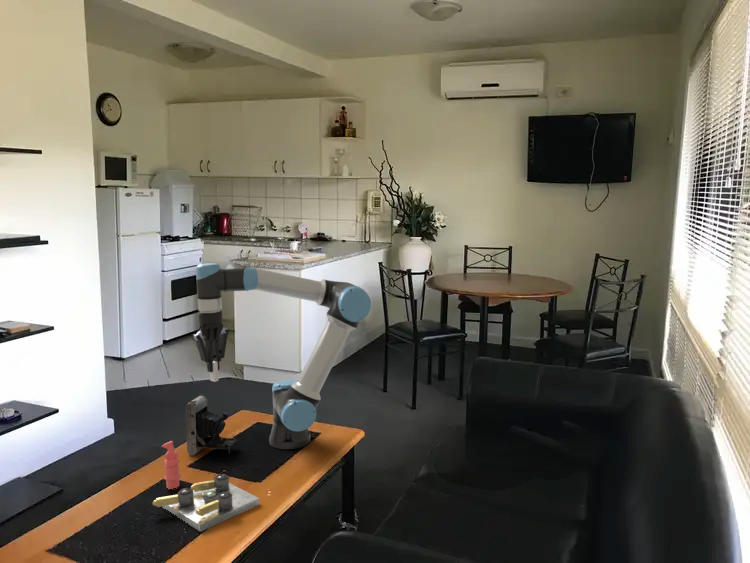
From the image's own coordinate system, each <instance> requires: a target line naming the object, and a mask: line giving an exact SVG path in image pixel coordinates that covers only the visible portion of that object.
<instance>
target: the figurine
mask: <svg viewBox="0 0 750 563" xmlns="http://www.w3.org/2000/svg"><path fill="white" fill-rule="evenodd" d="M161 448H165V449H166V450H167V452H166V453H165V454H164V468H165V473H164V474H165V476H164V478H163V479H164V480H165V483H166V485H165V486H166V489H167V488H168V489H167V490H170V489H172V490H174V489H173V488H176V489H178V488H179V487H180V478H181V477H182V476H181V473H180V468H179V463H180V458H179V452H178V451H176V450H175V447H174V441H173V440H170V441H169V442H166V443H164V444H162V445H161ZM178 486H179V487H178ZM177 487H178V488H177Z"/></svg>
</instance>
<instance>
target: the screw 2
mask: <svg viewBox="0 0 750 563" xmlns="http://www.w3.org/2000/svg"><path fill="white" fill-rule="evenodd" d="M229 483H230V478H229V476H228V474H225V473H219V474H217V475H216V476H215V477H213V479H212V480H206V481H200V482H194V483H193V484H192V485H191V486H190V489H192V490H193V491H195V492H197V491H203V490H209V489H214V490H215V491H225V490H227V489H228V488H229Z"/></svg>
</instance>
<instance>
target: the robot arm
mask: <svg viewBox="0 0 750 563" xmlns="http://www.w3.org/2000/svg"><path fill="white" fill-rule="evenodd" d="M195 273H196V274H195V275H196V277H195V278H196V293H197V294H196V295H197V307H198V308H197V309H198V311H199V312H198V323H199V327H198V331H197V332H196V334H195V333H193V334H192V338H193V340H194V341H195V343H196V347H197V351H198V353H199V357H200V360H201V361H202V362H205V363H206V368H207V372H208V374H209V381H211V382H214V383H217V382H219V370H220V367H221V366H220V362H221V361H222V359H224V358H225V354H226V349H227V342H228V341H227V340H228V335H229V333H230V331H231V329H229V328H226V327H224V324H223V311H222V309H223V305H222V304H223V301H222V299H223V298H222V293H223V292H224V293H226V292H243V291H246V292H249V291H260V292H264V293H270V294H275V295H280V296H286V297H290V298H296V299H300V300H305V301H310V302H315V303H316V304H317V306H322V307H325V308H328V310H327V312H326V317H327V322H326V324H325V326H324V329H323V330H322V332H321V334H320V335H319V338H318V339H317V342H316V344H315V345H314V348H313V349H312V352H311V353H310V355H309V358H308V360H307V361H306V364H305V366H304V367H303V370H302V371H301V372H300V376H299V377H298V378H297V379H289V380H288V379H287V380H281V381H280V380H279V381H276V382H274V383H273V384H272V389H271V393H272V413H273V414H272V418H273V424H272V428H271V431H270V434H269V438H268V441H269V445H270V446H271V447H273V448H275V449H277V450H278V449H279V450H294V449H299V448H303V447H305V446H307V445H309V443H310V442H311V433H310V430H309V428H310V427H312V426H313V424H314V423H315V422H316V418H317V407H318V406H319V404H320V402H321V399H322V398H321V395H320V392H321V389H322V388H323V386H324V385H325V382H326V380H327V378H328V376H329V374H330V372H331V370H332V368H333V366H334V364H335V363H336V360H337V359H338V356H339V355H340V352H341V350H342V348H343V346H344V344H345V343H346V340H347V339H348V337H349V334H350V332H352V331H355V330H357V328H358V326H359V324H360V322H361V321H363V320H365V319H366V318H367V317H368V316H369V314H370V312H371V309H372V301H371V297H370V295H369V293H368V292H366V291H365V290H364V289H363V288H362V287H360V286H357V285H355V284H353V283H350V282H347V281H335V280H329V279H321V280H314V279H311V278H305V277H300V276H295V275H292V274H291V275H290V274H286V273H280V272H277V271H270V270H266V269H262V268H261V269H260V268H256V267H251V266H246V265H242V264H241V263H235V262H233V263H231V264H228V265H227V266H226V267H225V268H221V266H220V264H219V263H216V262H207V263H206V262H205V263H199V264H198V265H197V266H196V272H195Z"/></svg>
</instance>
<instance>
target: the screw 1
mask: <svg viewBox="0 0 750 563" xmlns="http://www.w3.org/2000/svg"><path fill="white" fill-rule="evenodd" d="M193 503H194V495H193V490H192V489H191V487H184V488H180V489H179V491H178V492H177V494H173V495H167V496H161V497H156V499H154V500H153V501H152V506H154V507H155V506H156V507H157V508H160V507H163V506H167V505H172V504H178V505H179V506H189V505H191V504H193Z"/></svg>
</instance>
